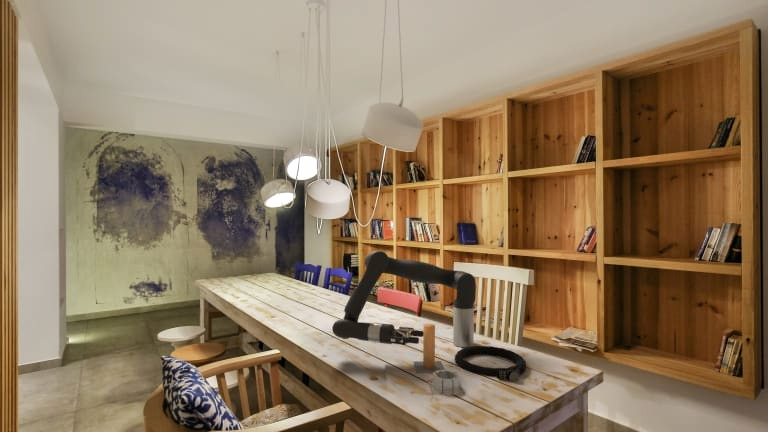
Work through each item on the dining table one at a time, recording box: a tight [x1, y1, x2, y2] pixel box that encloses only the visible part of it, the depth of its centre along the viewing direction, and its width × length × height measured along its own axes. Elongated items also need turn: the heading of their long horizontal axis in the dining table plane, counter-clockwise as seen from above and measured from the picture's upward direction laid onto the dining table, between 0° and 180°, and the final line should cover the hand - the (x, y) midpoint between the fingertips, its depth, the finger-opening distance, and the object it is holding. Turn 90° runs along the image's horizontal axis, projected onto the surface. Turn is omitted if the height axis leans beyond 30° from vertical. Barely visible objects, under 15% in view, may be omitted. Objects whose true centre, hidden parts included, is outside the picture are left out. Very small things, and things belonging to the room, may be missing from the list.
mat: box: [413, 360, 446, 374], centre depth 144 cm, size 11×11×1 cm
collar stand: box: [426, 369, 466, 396], centre depth 127 cm, size 11×11×5 cm
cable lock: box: [454, 345, 527, 383], centre depth 148 cm, size 28×4×30 cm
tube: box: [422, 323, 436, 369], centre depth 144 cm, size 4×4×16 cm
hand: (421, 337), depth 145 cm, fingers open, 8 cm apart
